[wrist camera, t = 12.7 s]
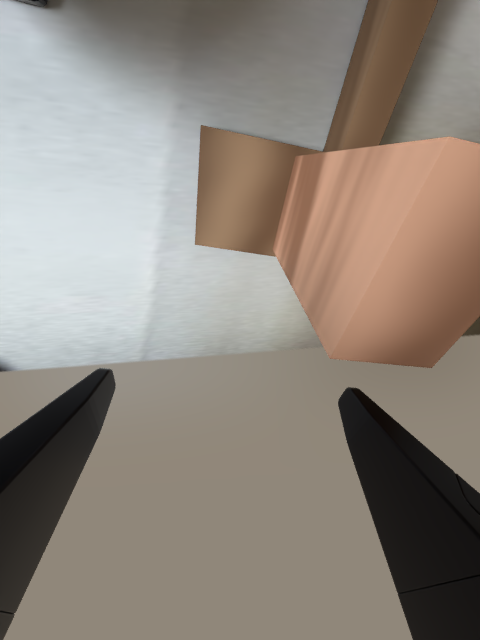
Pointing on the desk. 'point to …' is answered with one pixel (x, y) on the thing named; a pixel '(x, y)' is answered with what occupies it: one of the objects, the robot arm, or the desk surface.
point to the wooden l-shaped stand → (359, 210)
